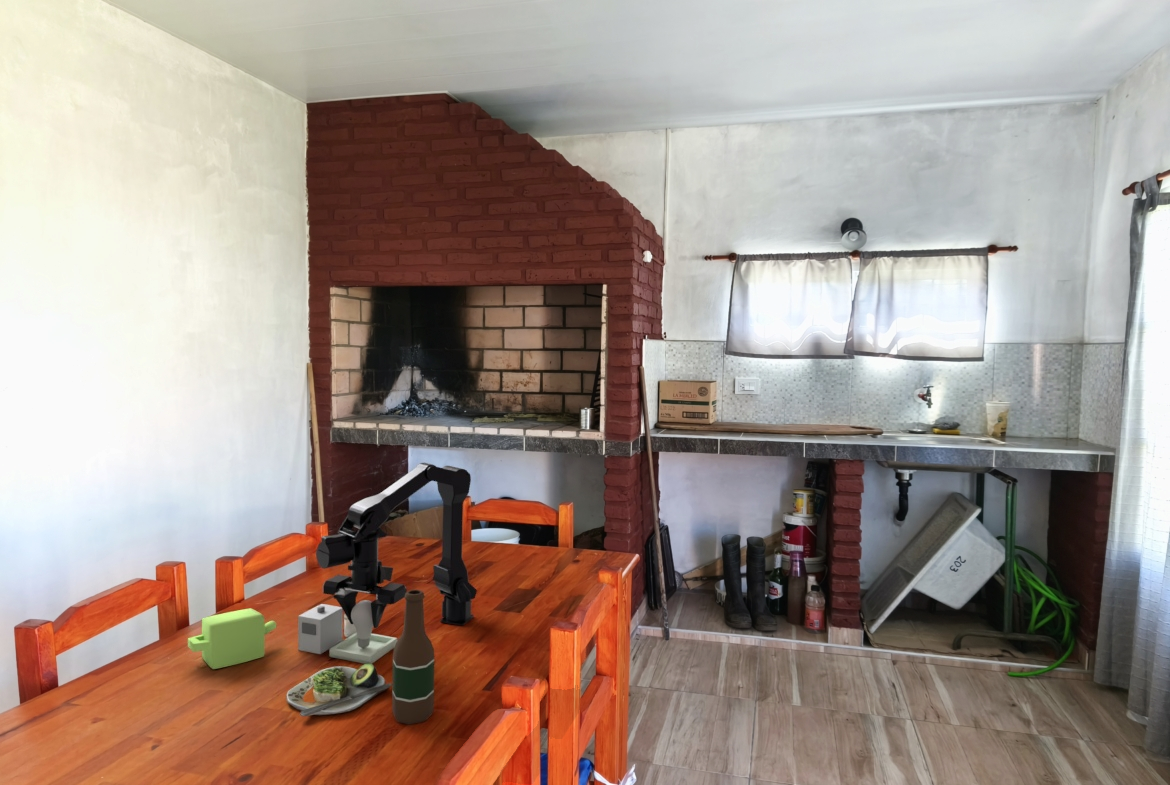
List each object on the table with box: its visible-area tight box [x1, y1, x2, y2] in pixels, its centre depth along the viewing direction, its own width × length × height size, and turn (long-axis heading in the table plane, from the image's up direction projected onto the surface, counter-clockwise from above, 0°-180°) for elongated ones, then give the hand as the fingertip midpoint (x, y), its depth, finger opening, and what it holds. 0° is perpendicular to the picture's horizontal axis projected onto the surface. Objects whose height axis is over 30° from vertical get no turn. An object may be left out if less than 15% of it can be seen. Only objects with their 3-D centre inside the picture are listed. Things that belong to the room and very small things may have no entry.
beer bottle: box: [391, 589, 435, 726], centre depth 134 cm, size 8×8×24 cm
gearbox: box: [187, 607, 277, 670], centre depth 158 cm, size 18×10×10 cm, turn 133°
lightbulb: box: [351, 599, 374, 648], centre depth 161 cm, size 6×6×11 cm
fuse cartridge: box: [343, 613, 357, 638], centre depth 171 cm, size 4×4×5 cm
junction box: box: [297, 603, 344, 655], centre depth 164 cm, size 6×9×9 cm
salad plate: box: [285, 663, 393, 717], centre depth 141 cm, size 19×18×5 cm
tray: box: [329, 632, 398, 665], centre depth 162 cm, size 11×11×2 cm
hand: (364, 625), depth 161 cm, fingers open, 6 cm apart
